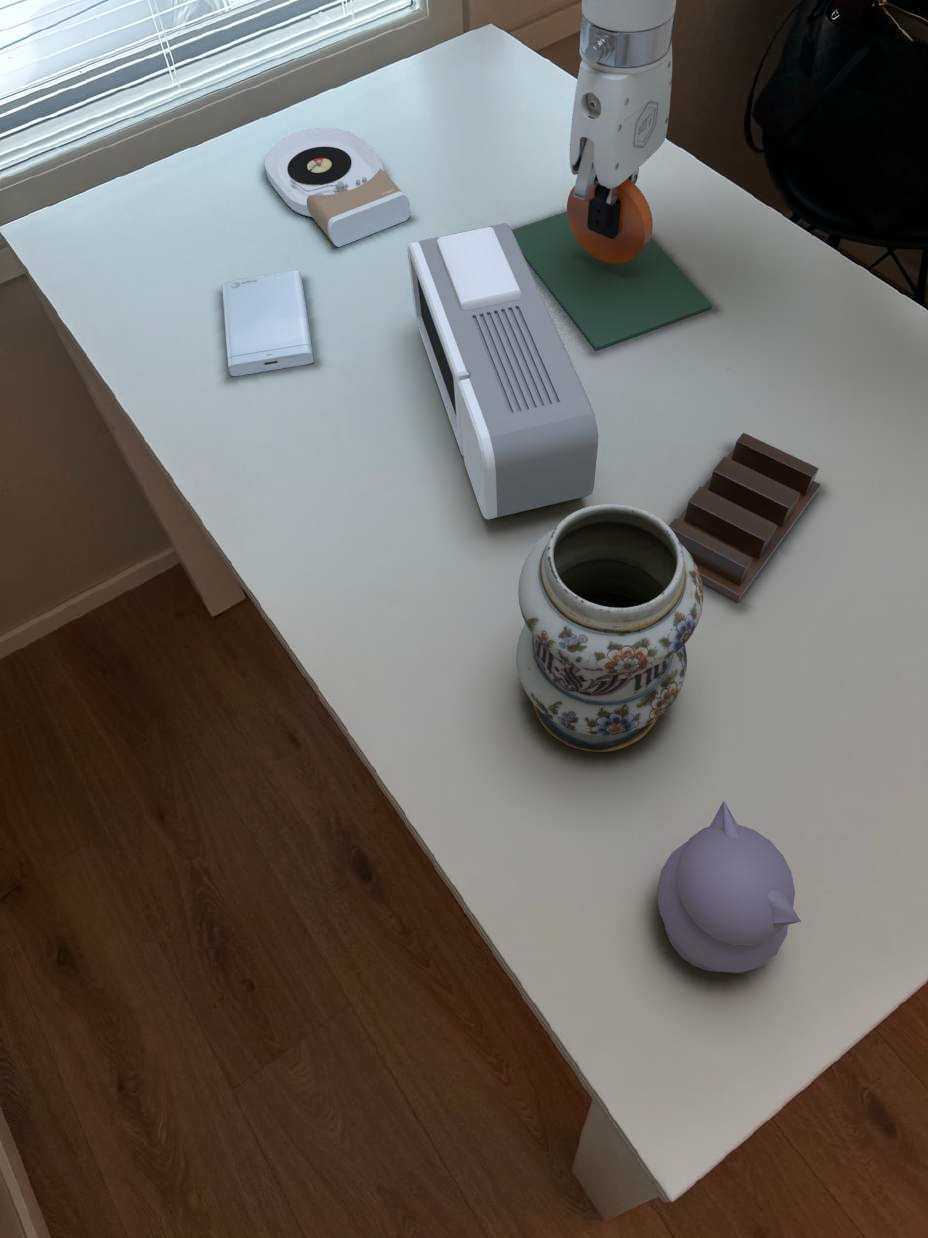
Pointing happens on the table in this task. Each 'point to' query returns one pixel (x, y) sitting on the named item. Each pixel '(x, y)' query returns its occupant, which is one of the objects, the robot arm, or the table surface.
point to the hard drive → (266, 323)
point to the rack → (744, 513)
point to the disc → (630, 229)
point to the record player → (335, 183)
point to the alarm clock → (502, 372)
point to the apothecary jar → (606, 625)
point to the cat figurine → (726, 897)
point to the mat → (608, 284)
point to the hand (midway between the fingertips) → (608, 225)
